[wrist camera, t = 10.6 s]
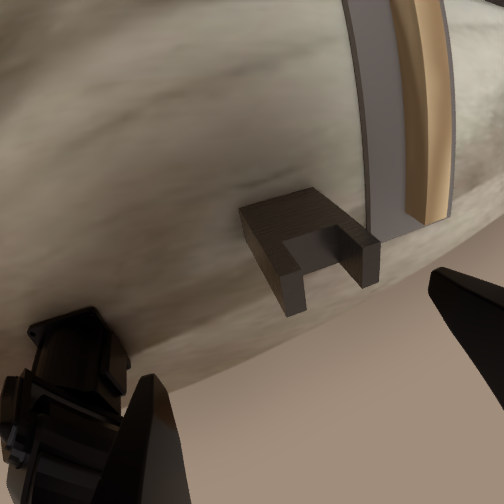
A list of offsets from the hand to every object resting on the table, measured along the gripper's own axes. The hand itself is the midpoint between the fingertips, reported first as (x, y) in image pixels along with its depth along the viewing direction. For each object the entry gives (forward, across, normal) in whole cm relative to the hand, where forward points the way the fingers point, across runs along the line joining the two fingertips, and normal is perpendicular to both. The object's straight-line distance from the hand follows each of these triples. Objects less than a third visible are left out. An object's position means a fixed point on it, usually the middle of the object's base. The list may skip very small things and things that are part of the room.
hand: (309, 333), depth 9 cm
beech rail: (+11, -14, -7) cm, 19 cm away
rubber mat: (+12, -14, -7) cm, 20 cm away
